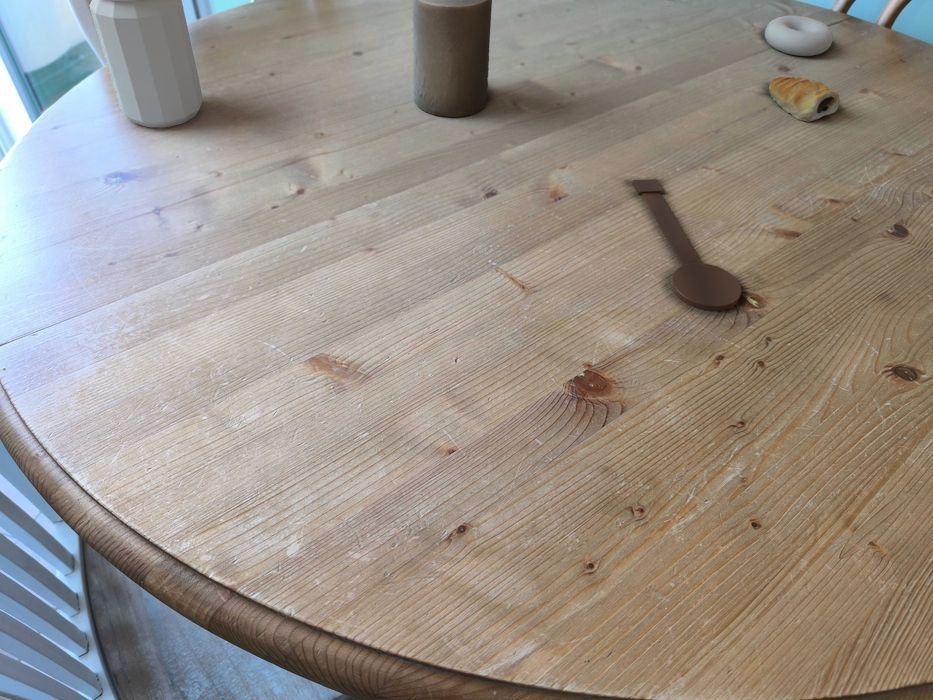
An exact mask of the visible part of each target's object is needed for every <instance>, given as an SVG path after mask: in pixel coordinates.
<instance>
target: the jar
mask: <svg viewBox="0 0 933 700" xmlns="http://www.w3.org/2000/svg"><path fill="white" fill-rule="evenodd" d="M89 10H90V12H91V16H92V19H93V23H94V26H95V29H96V33H97V37H98V40H99V43H100V46H101V49H102V53H103V56H104V60H105V63H106V66H107V69H108V73H109V76H110V79H111V83H112V86H113V90H114V93H115V96H116V100H117V102H118V106H119V109H120V110H121V112H122V113H123V115H124V116H125V117H126V118H127V119H128V120H130V121H131V122H133V123H134V124H136V125H139V126H142V127H145V128H153V129H154V128H157V129H158V128H161V129H162V128H163V129H164V128H165V129H166V128H171V127H175V126H178V125H182V124H185V123H187V122H188V121H190V120H192V119H193V118H195V117H196V116H197V114H198V112H199V110H200V109H201V106H202V105H203V101H204V96H203V93H202V87H201V82H200V78H199V74H198V68H197V64H196V59H195V55H194V50H193V46H192V40H191V37H190V32H189V27H188V22H187V18H186V13H185V8H184V4H183V0H91V1H90V3H89Z"/></svg>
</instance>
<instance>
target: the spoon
mask: <svg viewBox="0 0 933 700" xmlns="http://www.w3.org/2000/svg"><path fill="white" fill-rule="evenodd" d="M631 186H633V188H634V190H635V192H636V193H637V196H642V198H643V199H644V201H645V203H646V205H647V207H648V208H649V211H650V212H651V214H652V216H653V217H654V219H655V221H656V223H657V224H658V226H659V228H660V230H661V232H662V234H663V235H664V237H665V239H666V240H667V243H668V244H669V246H670V248H671V250H672V251H673V253H674V255H675V257H676V258H677V260H678V262H679V263H680V266H679V267H678V268H677V269H676V270H674V272H673V273H672V277H671V280H670V288H671V290H672V292H673V294H674V295H675V296H676V297H677V298H678V299H679V301H681V302H682V303H684V304H685V305H687V306H690V307H691V308H695V309H697V310H702V311H705V312H722V311H727V310H729V309H732V308H733V307H735V306H736V305H737V304H738V302H739V301H740V298H741V295H742V286H741V283H740V282H739V280H738V279H737V278H736V277H735V276H734V275H733V274H732V273H731V272H729V271H728V270H726V269H724V268H722V267H719V266H717V265H713V264H709V263H704V262H701V260H700V258H699V256H698V255H697V252H696V251H695V250H694V247H692V244H691V242H690V241H689V239H688V238H687V236H686V233H684V231H683V229H682V228H681V226H680V224H679V222H678V221H677V219H676V217H675V216H674V214H673V212H672V210H671V209H670V207H669V206H668V204H667V203H666V201H665V199H664V197H663V196H662V195H663V194H664V188H663V187H662V186H661V184H660V183H659V180H658V179H657V178H655V179H654V178H653V179H652V178H651V179H633V180H632V183H631Z"/></svg>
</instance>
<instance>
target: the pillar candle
mask: <svg viewBox="0 0 933 700" xmlns="http://www.w3.org/2000/svg"><path fill="white" fill-rule="evenodd" d="M492 7H493V0H412V51H413V52H412V54H413V57H412V61H413V62H412V64H413V98H414V103H415V105H416V106H417V107H418V108H419V109H420V110H421V111H424V112H426V113H428V114H431V115H435V116H442V117H450V118H451V117H452V118H459V117H460V118H461V117H467V116H471V115H474V114H476V113H479V112H481V111H482V110H483V109H485V107H486V106H487V101H488V87H489V69H490V67H489V64H490V45H491V44H490V43H491V28H492V27H491V26H492V25H491V24H492Z"/></svg>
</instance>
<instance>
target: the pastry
mask: <svg viewBox="0 0 933 700" xmlns="http://www.w3.org/2000/svg"><path fill="white" fill-rule="evenodd" d="M768 90H769V91H768V92H769V95H770V98H772V99H773V101H774V102H776V104H777V106H778V107H780V108H781V109H782V110H783V111H785V112H786V113H788V114H791V115H792V117H794V118H795V119H797V120H800V121H804V122H807V123H810V122H813V121H817V120H818V119H820V118H822V117H825V116H829V115H832V114H835V113H836V112H837V110H838V109H839V106H840V102H841V99H840V94H839V93H838V90H835V89H834V90H832V89H831V88H829V87H828V86H827V85H825V84H824V83H822V82H821V81H819V80H815V79H812V80H810V79H808V78H802V77H796V78H795V77H793V76H787V77H786V76H779V77H775V78H772V79H771V80H770V82H769V85H768Z"/></svg>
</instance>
